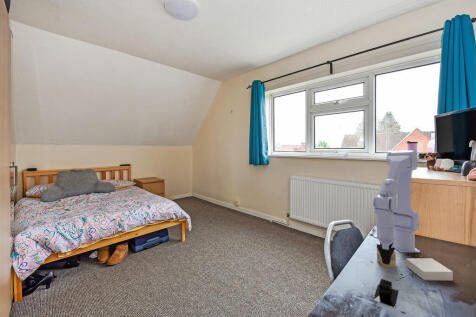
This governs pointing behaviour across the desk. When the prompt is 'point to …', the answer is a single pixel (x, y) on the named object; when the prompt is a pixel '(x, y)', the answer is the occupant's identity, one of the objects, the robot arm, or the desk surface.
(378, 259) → the oak block
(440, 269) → the base
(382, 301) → the black mounting plate
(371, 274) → the desk surface
